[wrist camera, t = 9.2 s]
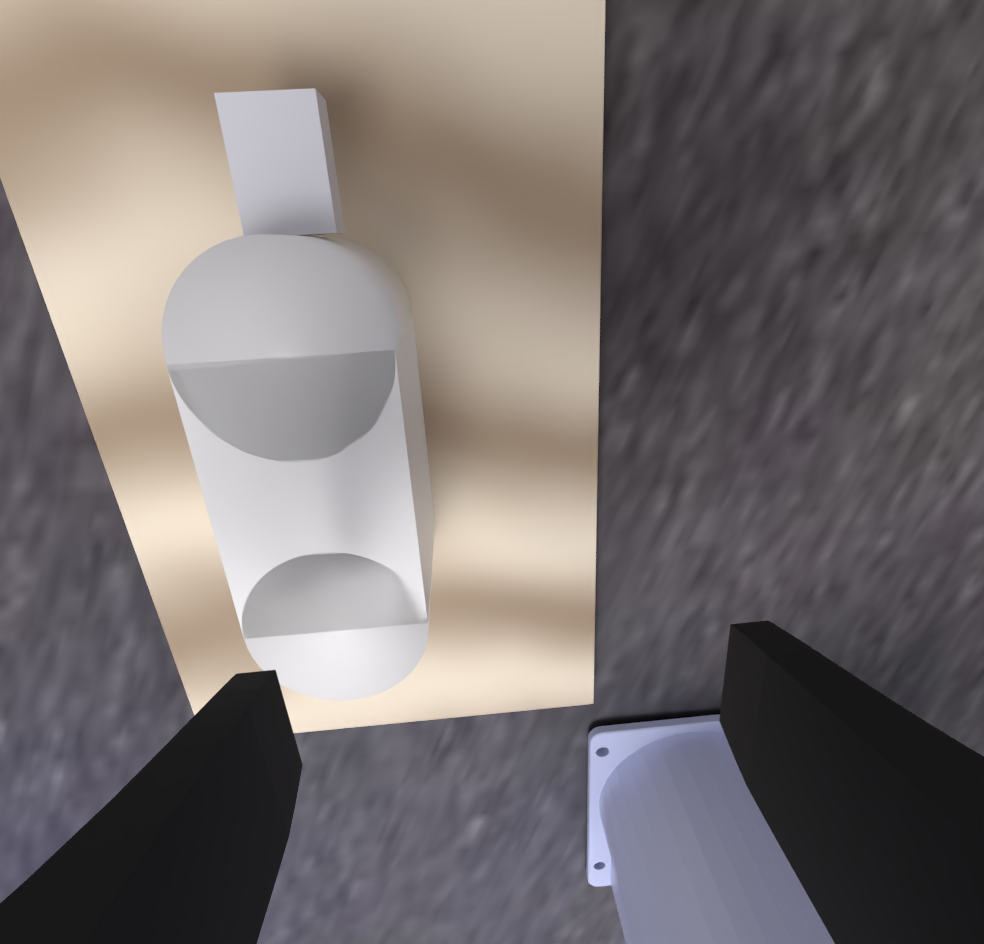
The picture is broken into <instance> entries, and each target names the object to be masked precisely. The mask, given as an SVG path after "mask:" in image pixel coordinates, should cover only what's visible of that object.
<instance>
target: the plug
mask: <svg viewBox="0 0 984 944" xmlns="http://www.w3.org/2000/svg"><path fill="white" fill-rule="evenodd" d="M214 96H215V101H216V105H217V110H218V115H219V120H220V124H221V129H222V134H223V139H224V143H225V148H226V153H227V158H228V163H229V167H230V172H231V177H232V182H233V186H234V191H235V196H236V201H237V205H238V210H239V215H240V220H241V225H242V229H243V234H244V236H240V237H237V238H233V239H229V240H226V241H223V242H221V243H219V244H217V245H215V246H212V247H211V248H209V249H208V250H206V251H205V252H203V253H201V254H200V255H198V256H197V257H196V258H195V259H194V260H193V261H192V262H191V263H190V264H189V265H188V266H187V267H186V268H185V269H184V271H183V272H182V273H181V274H180V276H179V277H178V278H177V280H176V282H175V284H174V286H173V287H172V289H171V291H170V294H169V296H168V299H167V302H166V305H165V309H164V314H163V319H162V346H163V353H164V358H165V362H166V366H167V370H168V373H169V377H170V381H171V384H172V388H173V391H174V395H175V398H176V402H177V405H178V409H179V412H180V416H181V419H182V423H183V426H184V430H185V433H186V437H187V440H188V444H189V447H190V451H191V454H192V458H193V461H194V465H195V468H196V472H197V476H198V479H199V483H200V486H201V490H202V493H203V497H204V500H205V504H206V507H207V511H208V514H209V518H210V521H211V525H212V528H213V532H214V535H215V539H216V542H217V546H218V549H219V553H220V556H221V560H222V563H223V567H224V571H225V574H226V578H227V581H228V585H229V588H230V592H231V595H232V599H233V602H234V606H235V609H236V613H237V616H238V620H239V623H240V627H241V630H242V634H243V637H244V640H245V643H246V646H247V649H248V650H249V652H250V654H251V656H252V658H253V659H254V660H255V662H256V663H257V664H258V666H259V667H260V668H261V669H262V670H263V671H268V670H276V673H277V677H278V680H279V684H281V685H283V686H284V687H286V688H288V689H290V690H292V691H294V692H297V693H300V694H303V695H305V696H309V697H313V698H318V699H324V700H336V701H344V700H356V699H362V698H366V697H370V696H374V695H376V694H379V693H382V692H384V691H386V690H388V689H390V688H392V687H394V686H395V685H397V684H398V683H400V682H401V681H402V680H403V679H405V678H406V677H407V676H408V675H409V674H410V673H411V672H412V671H413V670H414V669H415V667H416V666H417V664H418V663H419V661H420V660H421V658H422V655H423V653H424V651H425V648H426V644H427V639H428V628H429V611H430V595H431V578H432V562H433V545H434V528H435V521H434V510H433V500H432V491H431V481H430V472H429V462H428V452H427V443H426V433H425V424H424V414H423V405H422V395H421V386H420V376H419V367H418V357H417V348H416V338H415V328H414V319H413V312H412V306H411V302H410V299H409V295H408V293H407V291H406V288H405V286H404V284H403V283H402V281H401V279H400V277H399V276H398V274H397V273H396V272H395V271H394V269H393V268H392V267H391V266H390V265H389V264H388V263H387V262H386V261H385V260H384V259H383V258H382V257H381V256H379V255H378V254H377V253H376V252H374V251H373V250H371V249H369V248H368V247H366V246H364V245H362V244H359V243H357V242H355V241H351V240H348V239H344V238H338V237H324V236H310V235H328V234H345V231H344V224H343V217H342V210H341V203H340V196H339V189H338V182H337V175H336V168H335V161H334V154H333V147H332V140H331V133H330V126H329V119H328V112H327V105H326V100H325V99H324V98H323V96H322V95H321V94H320V93H319V92H318V91H317V90H316V89H315V88H312V89H290V90H267V91H245V92H222V93H214Z"/></svg>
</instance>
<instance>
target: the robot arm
mask: <svg viewBox="0 0 984 944" xmlns="http://www.w3.org/2000/svg"><path fill="white" fill-rule="evenodd" d="M602 747H603V748H602ZM301 769H302V762H301V758H300V755H299V751H298V748H297V744H296V741H295V737H294V734H293V730H292V726H291V723H290V719H289V716H288V712H287V709H286V705H285V702H284V698H283V695H282V691H281V687H280V684H279V680H278V677H277V673H276V670H268V671H258V672H248V673H238V674H235V675H234V676H233V677H232V678H231V679H230V680H229V681H228V682H227V683H226V684H225V685H224V686H223V687H222V688H221V689H220V690H219V691H218V692H217V693H216V694H215V695H214V696H213V697H212V698H211V699H210V700H209V701H208V702H207V703H206V704H205V705H204V706H203V707H202V708H201V709H200V710H199V712H198V713H197V714H196V715H195V716H194V717H193V718H192V719H191V720H190V721H189V722H188V723H187V724H186V725H185V726H184V727H183V728H182V729H181V730H180V731H179V732H178V733H177V734H176V735H175V736H174V737H173V738H172V739H171V740H170V741H169V743H168V744H167V745H166V746H165V747H164V748H163V749H162V750H161V751H160V752H159V753H158V754H157V755H156V756H155V757H154V758H153V759H152V760H151V761H150V762H149V763H148V764H147V765H146V766H145V767H144V768H143V769H142V770H141V771H140V772H139V773H138V774H137V775H136V776H135V777H134V778H133V779H132V780H131V781H130V782H129V783H128V784H127V785H126V786H125V787H124V788H123V789H122V790H121V791H120V792H119V793H118V794H117V795H116V796H115V797H114V798H113V799H112V800H111V801H110V802H109V803H108V804H107V805H106V806H105V807H103V808H102V809H101V810H100V811H99V812H98V813H97V814H96V815H95V816H94V817H93V818H92V819H91V820H90V821H89V822H88V823H87V824H85V825H84V826H83V827H82V828H81V829H80V830H79V831H78V832H77V833H76V834H75V835H74V836H73V837H72V838H71V839H70V840H69V841H67V842H66V843H65V844H64V845H63V846H62V847H61V848H60V849H59V850H58V851H57V852H56V853H55V854H54V855H53V856H52V857H51V858H49V859H48V860H47V861H46V862H45V863H44V864H43V865H42V866H41V867H40V868H39V869H38V870H37V871H36V872H35V873H34V874H33V875H31V876H30V877H29V878H28V879H27V880H26V881H25V882H24V883H23V884H22V885H20V886H19V887H18V888H17V889H16V890H15V891H14V892H13V893H12V894H10V895H9V896H8V897H7V898H6V899H5V900H4V901H3V902H1V903H0V944H256V943H257V940H258V937H259V934H260V930H261V927H262V924H263V921H264V917H265V914H266V911H267V908H268V904H269V901H270V898H271V894H272V891H273V888H274V884H275V881H276V878H277V874H278V871H279V868H280V864H281V861H282V858H283V854H284V851H285V848H286V844H287V841H288V837H289V833H290V828H291V823H292V818H293V813H294V808H295V803H296V797H297V792H298V786H299V781H300V775H301ZM586 873H587V878H588V882H589V883H590V884H591V885H593V886H607V885H611V886H612V890H613V894H614V898H615V902H616V906H617V910H618V914H619V918H620V922H621V926H622V930H623V934H624V938H625V942H626V944H984V756H982V755H980V754H978V753H977V752H975V751H973V750H972V749H970V748H968V747H966V746H965V745H963V744H961V743H960V742H958V741H956V740H955V739H953V738H951V737H950V736H948V735H947V734H945V733H943V732H942V731H940V730H938V729H937V728H935V727H934V726H932V725H930V724H929V723H927V722H925V721H924V720H922V719H921V718H919V717H917V716H916V715H914V714H913V713H911V712H909V711H908V710H906V709H905V708H903V707H902V706H900V705H898V704H897V703H895V702H894V701H892V700H891V699H889V698H887V697H886V696H884V695H883V694H881V693H880V692H878V691H877V690H875V689H873V688H872V687H870V686H869V685H867V684H866V683H864V682H863V681H861V680H860V679H858V678H857V677H855V676H853V675H852V674H850V673H849V672H847V671H846V670H844V669H843V668H841V667H840V666H838V665H837V664H835V663H834V662H832V661H831V660H829V659H828V658H826V657H825V656H823V655H822V654H820V653H818V652H817V651H815V650H814V649H812V648H811V647H809V646H808V645H806V644H805V643H803V642H802V641H800V640H799V639H797V638H795V637H794V636H792V635H791V634H789V633H788V632H786V631H784V630H783V629H781V628H780V627H778V626H776V625H775V624H773V623H771V622H770V621H760V622H750V623H740V624H731V626H730V634H729V643H728V651H727V660H726V668H725V677H724V685H723V694H722V702H721V711H720V714H717V715H707V716H697V717H687V718H677V719H667V720H657V721H647V722H637V723H627V724H617V725H607V726H599V727H596V728H594V729H592V730H591V731H590V733H589V735H588V787H587V867H586Z"/></svg>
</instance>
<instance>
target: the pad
mask: <svg viewBox="0 0 984 944" xmlns="http://www.w3.org/2000/svg"><path fill="white" fill-rule="evenodd" d="M604 55H605V0H0V178H1V181H2V183H3V186H4V189H5V192H6V195H7V197H8V200H9V203H10V206H11V208H12V211H13V214H14V217H15V219H16V222H17V225H18V228H19V231H20V233H21V236H22V239H23V242H24V244H25V247H26V250H27V253H28V255H29V258H30V261H31V264H32V267H33V269H34V272H35V275H36V278H37V280H38V283H39V286H40V289H41V291H42V294H43V297H44V300H45V303H46V305H47V308H48V311H49V314H50V316H51V319H52V322H53V325H54V327H55V330H56V333H57V336H58V339H59V341H60V344H61V347H62V350H63V352H64V355H65V358H66V361H67V363H68V366H69V369H70V372H71V375H72V377H73V380H74V383H75V386H76V388H77V391H78V394H79V397H80V399H81V402H82V405H83V408H84V411H85V413H86V416H87V419H88V422H89V424H90V427H91V430H92V433H93V435H94V438H95V441H96V444H97V447H98V449H99V452H100V455H101V458H102V460H103V463H104V466H105V469H106V471H107V474H108V477H109V480H110V483H111V485H112V488H113V491H114V494H115V496H116V499H117V502H118V505H119V507H120V510H121V513H122V516H123V519H124V521H125V524H126V527H127V530H128V532H129V535H130V538H131V541H132V543H133V546H134V549H135V552H136V555H137V557H138V560H139V563H140V566H141V568H142V571H143V574H144V577H145V579H146V582H147V585H148V588H149V591H150V593H151V596H152V599H153V602H154V604H155V607H156V610H157V613H158V615H159V618H160V621H161V624H162V627H163V629H164V632H165V635H166V638H167V640H168V643H169V646H170V649H171V651H172V654H173V657H174V660H175V663H176V665H177V668H178V671H179V674H180V676H181V679H182V682H183V685H184V687H185V690H186V693H187V696H188V699H189V701H190V704H191V707H192V710H193V712H194V715H196V714H197V713H198V712H199V710H200V709H201V708H202V707H203V706H204V705H205V704H206V703H207V702H208V701H209V700H210V699H211V698H212V697H213V696H214V695H215V694H216V693H217V692H218V691H219V690H220V689H221V688H222V687H223V686H224V685H225V684H226V683H227V682H228V681H229V680H230V679H231V678H232V677H233V676H234V675H235V674H238V673H248V672H258V671H263V670H262V669H261V668H260V667H259V666H258V664H257V663H256V662H255V660H254V659H253V658H252V656H251V654H250V652H249V650H248V649H247V646H246V643H245V640H244V637H243V634H242V630H241V627H240V623H239V620H238V616H237V613H236V609H235V606H234V602H233V599H232V595H231V592H230V588H229V585H228V581H227V578H226V574H225V571H224V567H223V563H222V560H221V556H220V553H219V549H218V546H217V542H216V539H215V535H214V532H213V528H212V525H211V521H210V518H209V514H208V511H207V507H206V504H205V500H204V497H203V493H202V490H201V486H200V483H199V479H198V476H197V472H196V468H195V465H194V461H193V458H192V454H191V451H190V447H189V444H188V440H187V437H186V433H185V430H184V426H183V423H182V419H181V416H180V412H179V409H178V405H177V402H176V398H175V395H174V391H173V388H172V384H171V381H170V377H169V373H168V370H167V366H166V362H165V358H164V353H163V346H162V319H163V314H164V309H165V305H166V302H167V299H168V296H169V294H170V291H171V289H172V287H173V286H174V284H175V282H176V280H177V278H178V277H179V276H180V274H181V273H182V272H183V271H184V269H185V268H186V267H187V266H188V265H189V264H190V263H191V262H192V261H193V260H194V259H195V258H196V257H197V256H198V255H200V254H201V253H203V252H205V251H206V250H208V249H209V248H211V247H212V246H215V245H217V244H219V243H221V242H223V241H226V240H229V239H233V238H237V237H240V236H244V234H243V229H242V225H241V220H240V215H239V210H238V205H237V201H236V196H235V191H234V186H233V182H232V177H231V172H230V167H229V163H228V158H227V153H226V148H225V143H224V139H223V134H222V129H221V124H220V120H219V115H218V110H217V105H216V101H215V96H214V93H222V92H245V91H267V90H290V89H312V88H315V89H316V90H317V91H318V92H319V93H320V94H321V95H322V96H323V98H324V99H325V100H326V105H327V112H328V119H329V126H330V133H331V140H332V147H333V154H334V161H335V168H336V175H337V182H338V189H339V196H340V203H341V210H342V217H343V224H344V231H345V234H328V235H310V236H324V237H338V238H344V239H348V240H351V241H355V242H357V243H359V244H362V245H364V246H366V247H368V248H369V249H371V250H373V251H374V252H376V253H377V254H378V255H379V256H381V257H382V258H383V259H384V260H385V261H386V262H387V263H388V264H389V265H390V266H391V267H392V268H393V269H394V271H395V272H396V273H397V274H398V276H399V277H400V279H401V281H402V283H403V284H404V286H405V288H406V291H407V293H408V295H409V299H410V302H411V306H412V312H413V319H414V328H415V338H416V348H417V357H418V367H419V376H420V386H421V395H422V405H423V414H424V424H425V433H426V443H427V452H428V462H429V472H430V481H431V491H432V500H433V510H434V521H435V528H434V545H433V562H432V578H431V595H430V611H429V628H428V639H427V644H426V648H425V651H424V653H423V655H422V658H421V660H420V661H419V663H418V664H417V666H416V667H415V669H414V670H413V671H412V672H411V673H410V674H409V675H408V676H407V677H406V678H405V679H403V680H402V681H401V682H400V683H398V684H397V685H395V686H394V687H392V688H390V689H388V690H386V691H384V692H382V693H379V694H376V695H374V696H370V697H366V698H362V699H356V700H344V701H336V700H324V699H318V698H313V697H309V696H305V695H303V694H300V693H297V692H294V691H292V690H290V689H288V688H286V687H284V686H283V685H281V684H280V687H281V691H282V695H283V698H284V702H285V705H286V709H287V712H288V716H289V719H290V723H291V726H292V730H293V733H300V732H311V731H321V730H331V729H341V728H351V727H362V726H372V725H382V724H392V723H402V722H413V721H423V720H433V719H443V718H453V717H463V716H474V715H484V714H494V713H504V712H514V711H525V710H535V709H545V708H555V707H565V706H576V705H586V704H593V700H594V641H595V582H596V524H597V465H598V407H599V348H600V289H601V231H602V172H603V114H604Z"/></svg>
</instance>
